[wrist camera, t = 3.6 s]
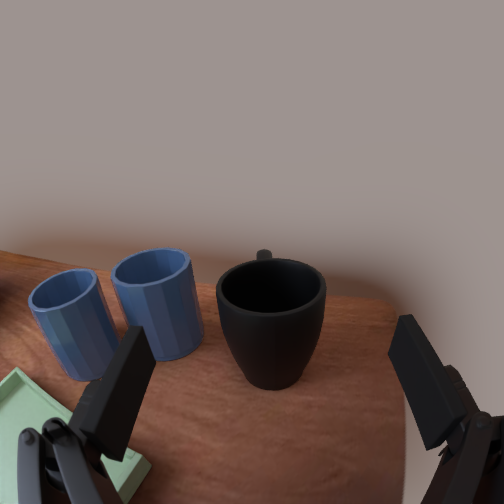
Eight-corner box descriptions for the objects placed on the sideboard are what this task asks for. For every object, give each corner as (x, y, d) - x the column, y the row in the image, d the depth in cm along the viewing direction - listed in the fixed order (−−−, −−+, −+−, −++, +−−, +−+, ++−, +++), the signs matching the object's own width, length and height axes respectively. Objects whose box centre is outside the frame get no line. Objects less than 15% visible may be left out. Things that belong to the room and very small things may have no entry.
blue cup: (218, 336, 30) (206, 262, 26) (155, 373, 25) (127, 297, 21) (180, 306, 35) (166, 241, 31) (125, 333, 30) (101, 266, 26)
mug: (304, 315, 32) (307, 238, 28) (324, 398, 21) (339, 310, 17) (233, 319, 32) (224, 243, 28) (226, 404, 21) (208, 318, 17)
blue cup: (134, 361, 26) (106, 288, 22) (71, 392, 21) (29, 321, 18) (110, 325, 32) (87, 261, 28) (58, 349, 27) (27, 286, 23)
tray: (152, 465, 16) (142, 455, 15) (62, 595, 2) (44, 592, 1) (25, 379, 22) (16, 366, 21) (-47, 457, 8) (-59, 446, 7)
